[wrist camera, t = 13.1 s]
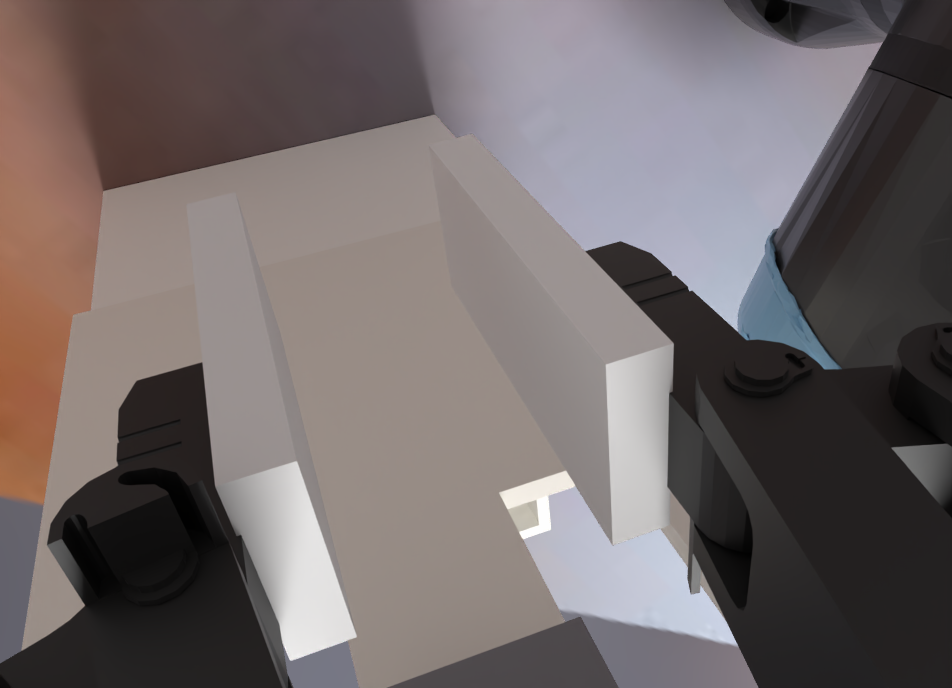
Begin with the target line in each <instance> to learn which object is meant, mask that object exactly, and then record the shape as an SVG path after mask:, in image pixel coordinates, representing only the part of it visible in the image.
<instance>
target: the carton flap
mask: <svg viewBox="0 0 952 688" xmlns="http://www.w3.org/2000/svg"><path fill="white" fill-rule="evenodd" d="M260 271H261V274H262V277H263V280H264V283H265V286H266V289H267V293H268V296H269V299H270V302H271V305H272V308H273V311H274V315H275V318H276V321H277V324H278V327H279V330H280V333H281V337H282V341H283V345H284V349H285V353H286V357H287V361H288V365H289V369H290V373H291V377H292V381H293V385H294V389H295V393H296V397H297V401H298V405H299V409H300V413H301V417H302V421H303V424H304V428H305V432H306V436H307V440H308V444H309V448H310V452H311V456H312V460H313V464H314V468H315V472H316V476H317V480H318V484H319V488H320V492H321V496H322V500H323V504H324V508H325V512H326V516H327V520H328V524H329V528H330V532H331V536H332V540H333V544H334V548H335V552H336V555H337V559H338V563H339V567H340V571H341V575H342V579H343V583H344V587H345V591H346V595H347V599H348V603H349V607H350V611H351V615H352V619H353V623H354V627H355V631H356V635H357V637H356V638H353V639H350V640H348V643H349V647H350V651H351V656H352V660H353V664H354V668H355V672H356V676H357V681H358V685H359V688H618V686H617V684H616V682H615V680H614V678H613V676H612V675H611V673H610V671H609V669H608V667H607V665H606V663H605V661H604V660H603V658H602V656H601V654H600V652H599V650H598V648H597V646H596V645H595V643H594V641H593V639H592V637H591V635H590V633H589V632H588V630H587V628H586V626H585V624H584V622H583V620H582V618H581V617H578V618H575V619H573V620H570V621H567V622H565V621H564V619H563V617H562V615H561V613H560V611H559V609H558V607H557V605H556V603H555V601H554V599H553V597H552V595H551V593H550V591H549V589H548V588H547V586H546V584H545V582H544V580H543V578H542V576H541V574H540V572H539V570H538V568H537V566H536V564H535V562H534V560H533V558H532V556H531V554H530V552H529V550H528V549H527V547H526V545H525V543H524V541H523V539H522V537H521V535H520V533H519V531H518V529H517V527H516V525H515V523H514V521H513V519H512V517H511V515H510V513H509V511H508V510H507V509H510V508H513V507H516V506H519V505H522V504H525V503H528V502H531V501H534V500H537V499H540V498H543V497H546V496H549V495H552V494H555V493H558V492H561V491H564V490H567V489H570V488H573V487H576V486H575V484H574V483H573V481H572V479H571V478H570V476H569V475H568V473H567V471H566V470H565V468H564V466H563V465H562V463H561V462H560V460H559V458H558V457H557V455H556V454H555V452H554V450H553V449H552V447H551V446H550V444H549V442H548V441H547V439H546V438H545V436H544V434H543V433H542V431H541V430H540V428H539V426H538V425H537V423H536V421H535V420H534V418H533V417H532V415H531V413H530V412H529V410H528V409H527V407H526V405H525V404H524V402H523V401H522V399H521V397H520V396H519V394H518V393H517V391H516V389H515V388H514V386H513V385H512V383H511V381H510V380H509V378H508V376H507V375H506V373H505V372H504V370H503V368H502V367H501V365H500V364H499V362H498V360H497V359H496V357H495V356H494V354H493V352H492V351H491V349H490V348H489V346H488V344H487V343H486V341H485V340H484V338H483V336H482V335H481V333H480V331H479V330H478V328H477V327H476V325H475V323H474V322H473V320H472V319H471V317H470V315H469V314H468V312H467V311H466V309H465V307H464V306H463V304H462V303H461V301H460V299H459V298H458V296H457V295H456V293H455V291H454V290H453V288H452V286H451V280H450V274H449V268H448V262H447V256H446V250H445V244H444V238H443V232H442V225H441V221H437V222H433V223H429V224H425V225H421V226H418V227H414V228H410V229H406V230H402V231H398V232H394V233H390V234H386V235H383V236H379V237H375V238H371V239H367V240H363V241H359V242H355V243H351V244H348V245H344V246H340V247H336V248H332V249H328V250H324V251H320V252H316V253H313V254H309V255H305V256H301V257H297V258H293V259H289V260H285V261H281V262H277V263H274V264H270V265H266V266H262V267H260ZM201 362H202V353H201V343H200V333H199V323H198V313H197V304H196V294H195V284H192V285H188V286H184V287H180V288H176V289H172V290H169V291H165V292H161V293H157V294H153V295H149V296H145V297H141V298H137V299H134V300H130V301H126V302H122V303H118V304H114V305H110V306H106V307H102V308H99V309H95V310H91V311H87V312H83V313H79V314H75V315H73V320H72V326H71V333H70V339H69V346H68V352H67V359H66V365H65V372H64V378H63V385H62V391H61V398H60V404H59V411H58V417H57V424H56V430H55V437H54V443H53V450H52V456H51V463H50V469H49V476H48V482H47V489H46V495H45V502H44V508H43V515H42V522H41V528H40V534H39V541H38V548H37V554H36V560H35V567H34V573H33V580H32V587H31V593H30V599H29V606H28V612H27V619H26V626H25V632H24V638H23V645H22V650H24V649H26V648H27V647H29V646H31V645H32V644H34V643H36V642H37V641H39V640H41V639H42V638H44V637H46V636H47V635H49V634H50V633H52V632H53V631H55V630H56V629H58V628H59V627H60V626H62V625H63V624H65V623H66V622H68V621H69V620H70V619H71V618H72V617H73V616H74V615H76V614H77V613H78V612H79V611H80V610H81V609H82V608H83V607H84V606H85V605H84V603H83V602H82V600H81V598H80V597H79V595H78V594H77V592H76V591H75V589H74V587H73V586H72V584H71V583H70V581H69V580H68V578H67V576H66V575H65V573H64V572H63V570H62V568H61V567H60V565H59V564H58V562H57V561H56V559H55V557H54V556H53V554H52V553H51V551H50V550H49V548H48V546H47V541H48V535H49V530H50V524H51V522H52V521H53V519H54V518H55V516H56V515H57V513H58V512H59V510H60V509H61V507H62V506H63V504H64V503H65V501H66V500H68V499H69V498H70V497H71V496H72V495H73V494H75V493H76V492H77V491H78V490H79V489H80V488H82V487H83V486H84V485H85V484H86V483H87V482H89V481H91V480H92V479H94V478H96V477H98V476H100V475H102V474H104V473H106V472H108V471H110V470H111V469H113V468H115V467H116V466H118V463H117V461H116V458H117V443H119V441H118V438H117V435H118V411H119V408H120V406H121V405H122V403H123V402H124V400H125V398H126V397H127V395H128V393H129V392H130V390H131V389H132V387H133V385H134V384H135V382H136V381H137V380H141V379H144V378H148V377H151V376H155V375H158V374H162V373H165V372H169V371H173V370H176V369H180V368H183V367H187V366H190V365H194V364H197V363H201ZM661 530H662V532H663V533H664V534H665V536H666V537H667V539H668V540H669V541H670V543H671V544H672V546H673V547H674V548H675V550H676V551H677V553H678V554H679V556H680V557H681V558H682V560H683V561H684V563H685V564H686V565H687V567H688V554H689V530H690V516H689V515H688V514H687V512H686V511H685V510H684V508H683V507H682V506H681V504H680V503H679V502H678V500H677V499H676V498H675V496H674V495H673V494H672V492H671V495H670V525H669V526H666V527H663V528H661ZM700 585H701V586H702V588H703V589H704V591H705V592H706V593H707V595H708V596H709V598H710V599H711V600H712V602H713V603H714V605H715V606H716V607H717V609H718V610H719V612H720V613H721V614H722V616H723V617H724V615H723V613H722V611H721V609H720V607H719V605H718V603H717V601H716V599H715V597H714V595H713V593H712V591H711V589H710V587H709V585H708V583H707V581H706V579H705V576H704V574H703V572H702V570H701V582H700ZM724 619H725V617H724Z"/></svg>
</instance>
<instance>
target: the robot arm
mask: <svg viewBox="0 0 952 688" xmlns="http://www.w3.org/2000/svg"><path fill="white" fill-rule="evenodd" d="M724 1H725V3H726V4H727V5H728V7H729V8H730V9H731V10H732V12H733V13H734V14H735V15H736V16H737V17H738V18H739V19H740V20H742V21H743V22H744V23H745V24H747V25H748V26H750V27H751V28H752V29H754V30H756V31H758V32H760V33H762V34H765V35H767V36H770V37H772V38H775V39H778V40H780V41H783V42H785V43H788V44H792V45H795V46H800V47H806V48H816V49H828V48H837V47H846V46H855V45H864V44H873V43H881V42H883V44H882V45H881V47H880V49H879V51H878V53H877V54H876V56H875V58H874V60H873V62H872V63H871V65H870V67H869V68H868V70H867V71H866V73H865V75H864V77H863V79H862V81H861V83H860V84H859V86H858V88H857V90H856V92H855V93H854V95H853V97H852V99H851V100H850V102H849V104H848V106H847V108H846V109H845V111H844V113H843V115H842V117H841V118H840V120H839V122H838V124H837V125H836V127H835V129H834V131H833V133H832V134H831V136H830V138H829V140H828V141H827V143H826V145H825V147H824V149H823V150H822V152H821V154H820V156H819V157H818V159H817V161H816V163H815V165H814V166H813V168H812V170H811V172H810V173H809V175H808V177H807V179H806V181H805V182H804V184H803V186H802V188H801V190H800V191H799V193H798V195H797V197H796V198H795V200H794V202H793V204H792V206H791V207H790V209H789V211H788V213H787V214H786V216H785V218H784V220H783V222H782V223H781V225H780V227H779V228H778V229H773V231H772V232H771V234H770V235H769V236H768V238H767V241H766V244H765V255H764V257H763V259H762V261H761V263H760V265H759V267H758V269H757V271H756V273H755V275H754V277H753V279H752V281H751V283H750V285H749V287H748V289H747V291H746V293H745V295H744V297H743V299H742V302H741V305H740V308H739V312H738V332H737V331H736V330H735V329H734V328H733V327H732V326H730V325H729V324H728V323H727V322H726V321H725V320H724V319H723V318H722V317H721V316H719V315H718V314H717V313H716V312H715V311H714V310H713V309H712V308H711V307H710V306H708V305H707V304H706V303H705V302H704V301H703V300H702V299H701V298H700V297H699V296H697V295H696V294H695V293H694V292H693V291H689V290H688V286H686V285H685V284H684V283H683V282H682V281H681V280H680V279H679V278H678V277H677V276H672V272H671V271H670V270H669V269H668V268H667V267H666V266H664V265H663V264H662V263H661V262H660V261H659V260H658V259H657V258H656V257H655V256H653V255H652V254H651V253H649V252H646V251H644V250H641V249H639V248H636V247H633V246H631V245H628V244H626V243H623V242H621V241H620V242H617V243H613V244H609V245H606V246H602V247H599V248H595V249H592V250H588V251H584V250H583V249H582V248H581V246H580V245H579V244H578V243H577V242H576V241H575V240H574V239H573V238H572V237H571V236H570V235H569V234H568V233H567V232H566V231H565V230H564V229H563V228H562V227H561V226H560V225H559V224H558V223H557V222H556V220H555V219H554V218H553V217H552V216H551V215H550V214H549V213H548V212H547V211H546V210H545V209H544V208H543V207H542V206H541V205H540V204H539V203H538V202H537V201H536V200H535V199H534V198H533V197H532V196H531V194H530V193H529V192H528V191H527V190H526V189H525V188H524V187H523V186H522V185H521V184H520V183H519V182H518V181H517V180H516V179H515V178H514V177H513V176H512V175H511V174H510V173H509V172H508V171H507V170H506V168H505V167H504V166H503V165H502V164H501V163H500V162H499V161H498V160H497V159H496V158H495V157H494V156H493V155H492V154H491V153H490V152H489V151H488V150H487V149H486V148H485V147H484V146H483V145H482V144H481V142H480V141H479V140H478V139H477V138H476V137H475V136H474V135H473V134H470V135H466V136H462V137H457V138H453V139H449V140H445V141H441V142H437V143H433V144H429V145H428V146H429V152H430V158H431V164H432V171H433V177H434V183H435V189H436V195H437V201H438V207H439V213H440V219H441V225H442V232H443V238H444V244H445V250H446V256H447V262H448V268H449V274H450V280H451V286H452V288H453V290H454V291H455V293H456V295H457V296H458V298H459V299H460V301H461V303H462V304H463V306H464V307H465V309H466V311H467V312H468V314H469V315H470V317H471V319H472V320H473V322H474V323H475V325H476V327H477V328H478V330H479V331H480V333H481V335H482V336H483V338H484V340H485V341H486V343H487V344H488V346H489V348H490V349H491V351H492V352H493V354H494V356H495V357H496V359H497V360H498V362H499V364H500V365H501V367H502V368H503V370H504V372H505V373H506V375H507V376H508V378H509V380H510V381H511V383H512V385H513V386H514V388H515V389H516V391H517V393H518V394H519V396H520V397H521V399H522V401H523V402H524V404H525V405H526V407H527V409H528V410H529V412H530V413H531V415H532V417H533V418H534V420H535V421H536V423H537V425H538V426H539V428H540V430H541V431H542V433H543V434H544V436H545V438H546V439H547V441H548V442H549V444H550V446H551V447H552V449H553V450H554V452H555V454H556V455H557V457H558V458H559V460H560V462H561V463H562V465H563V466H564V468H565V470H566V471H567V473H568V475H569V476H570V478H571V479H572V481H573V483H574V484H575V486H576V487H577V489H578V491H579V492H580V494H581V495H582V497H583V499H584V500H585V502H586V503H587V505H588V507H589V508H590V510H591V511H592V513H593V515H594V516H595V518H596V519H597V521H598V523H599V524H600V526H601V528H602V529H603V531H604V532H605V534H606V536H607V537H608V539H609V540H610V542H611V544H612V545H616V544H619V543H621V542H624V541H627V540H630V539H633V538H635V537H638V536H641V535H644V534H647V533H649V532H652V531H655V530H658V529H661V528H663V527H666V526H669V525H670V495H671V492H672V494H673V495H674V496H675V498H676V499H677V500H678V502H679V503H680V504H681V506H682V507H683V508H684V510H685V511H686V512H687V514H688V515H689V516H690V530H689V554H688V583H689V588H690V592H691V594H695V593H700V582H701V570H702V572H703V574H704V576H705V579H706V581H707V583H708V585H709V587H710V589H711V591H712V593H713V595H714V597H715V599H716V601H717V603H718V605H719V607H720V609H721V611H722V613H723V615H724V617H725V620H726V622H727V624H728V626H729V628H730V630H731V632H732V634H733V636H734V638H735V640H736V642H737V644H738V646H739V648H740V650H741V652H742V654H743V656H744V658H745V661H746V662H747V665H748V667H749V668H750V671H751V673H752V675H753V677H754V679H755V681H756V683H757V685H758V687H759V688H952V0H724ZM186 206H187V215H188V225H189V235H190V245H191V255H192V264H193V274H194V284H195V294H196V304H197V313H198V323H199V333H200V343H201V353H202V362H201V363H197V364H194V365H190V366H187V367H183V368H180V369H176V370H173V371H169V372H165V373H162V374H158V375H155V376H151V377H148V378H144V379H141V380H137V381H136V382H135V384H134V385H133V387H132V389H131V390H130V392H129V393H128V395H127V397H126V398H125V400H124V402H123V403H122V405H121V406H120V408H119V411H118V435H117V438H118V441H119V443H117V458H116V461H117V463H118V466H116V467H115V468H113V469H111V470H110V471H108V472H106V473H104V474H102V475H100V476H98V477H96V478H94V479H92V480H91V481H89V482H87V483H86V484H85V485H84V486H83V487H82V488H80V489H79V490H78V491H77V492H76V493H75V494H73V495H72V496H71V497H70V498H69V499H68V500H66V501H65V503H64V504H63V506H62V507H61V509H60V510H59V512H58V513H57V515H56V516H55V518H54V519H53V521H52V522H51V524H50V530H49V535H48V541H47V546H48V548H49V550H50V551H51V553H52V554H53V556H54V557H55V559H56V561H57V562H58V564H59V565H60V567H61V568H62V570H63V572H64V573H65V575H66V576H67V578H68V580H69V581H70V583H71V584H72V586H73V587H74V589H75V591H76V592H77V594H78V595H79V597H80V598H81V600H82V602H83V603H84V605H85V606H84V607H83V608H82V609H81V610H80V611H79V612H78V613H77V614H76V615H74V616H73V617H72V618H71V619H70V620H69V621H68V622H66V623H65V624H63V625H62V626H60V627H59V628H58V629H56V630H55V631H53V632H52V633H50V634H49V635H47V636H46V637H44V638H42V639H41V640H39V641H37V642H36V643H34V644H32V645H31V646H29V647H27V648H26V649H24V650H22V651H21V652H19V653H17V654H16V655H14V656H12V657H10V658H9V659H7V660H6V661H4V662H2V663H0V688H293V686H292V683H291V681H290V679H289V676H288V674H287V669H286V662H285V656H284V650H283V645H284V647H285V650H286V652H287V654H288V657H289V659H290V661H291V660H295V659H297V658H300V657H303V656H306V655H308V654H311V653H314V652H317V651H320V650H322V649H325V648H328V647H331V646H334V645H336V644H339V643H342V642H345V641H348V640H350V639H353V638H356V637H357V635H356V631H355V627H354V623H353V619H352V615H351V611H350V607H349V603H348V599H347V595H346V591H345V587H344V583H343V579H342V575H341V571H340V567H339V563H338V559H337V555H336V552H335V548H334V544H333V540H332V536H331V532H330V528H329V524H328V520H327V516H326V512H325V508H324V504H323V500H322V496H321V492H320V488H319V484H318V480H317V476H316V472H315V468H314V464H313V460H312V456H311V452H310V448H309V444H308V440H307V436H306V432H305V428H304V424H303V421H302V417H301V413H300V409H299V405H298V401H297V397H296V393H295V389H294V385H293V381H292V377H291V373H290V369H289V365H288V361H287V357H286V353H285V349H284V345H283V341H282V337H281V333H280V330H279V327H278V324H277V321H276V318H275V315H274V311H273V308H272V305H271V302H270V299H269V296H268V293H267V289H266V286H265V283H264V280H263V277H262V274H261V271H260V267H259V264H258V261H257V258H256V255H255V252H254V249H253V245H252V242H251V239H250V236H249V233H248V230H247V227H246V223H245V220H244V217H243V214H242V211H241V208H240V205H239V201H238V198H237V195H236V192H233V193H229V194H225V195H221V196H217V197H213V198H209V199H205V200H201V201H197V202H193V203H189V204H186ZM282 643H283V644H282Z"/></svg>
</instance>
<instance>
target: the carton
mask: <svg viewBox="0 0 952 688" xmlns="http://www.w3.org/2000/svg"><path fill="white" fill-rule="evenodd" d="M453 138H456V137H455V136H454V135H453V134H452V133H451V132H450V130H449V129H448V128H447V127H446V126H445V125H444V124H443V123H442V122H441V120H440V119H439V118H438V117H437V116H436V115H431V116H427V117H422V118H418V119H414V120H409V121H405V122H401V123H396V124H392V125H388V126H383V127H379V128H375V129H370V130H366V131H362V132H357V133H353V134H349V135H344V136H340V137H336V138H331V139H327V140H323V141H318V142H314V143H310V144H305V145H301V146H297V147H292V148H288V149H284V150H279V151H275V152H271V153H266V154H262V155H258V156H253V157H249V158H245V159H240V160H236V161H232V162H227V163H223V164H219V165H214V166H210V167H206V168H201V169H197V170H193V171H188V172H184V173H180V174H175V175H171V176H167V177H162V178H158V179H154V180H149V181H145V182H141V183H136V184H132V185H128V186H123V187H119V188H114V189H110V190H106V191H103V199H102V209H101V219H100V228H99V238H98V248H97V257H96V267H95V277H94V286H93V296H92V305H91V310H95V309H99V308H102V307H106V306H110V305H114V304H118V303H122V302H126V301H130V300H134V299H137V298H141V297H145V296H149V295H153V294H157V293H161V292H165V291H169V290H172V289H176V288H180V287H184V286H188V285H192V284H194V274H193V264H192V255H191V245H190V235H189V225H188V215H187V206H186V204H189V203H193V202H197V201H201V200H205V199H209V198H213V197H217V196H221V195H225V194H229V193H233V192H236V195H237V198H238V201H239V205H240V208H241V211H242V214H243V217H244V220H245V223H246V227H247V230H248V233H249V236H250V239H251V242H252V245H253V249H254V252H255V255H256V258H257V261H258V264H259V267H262V266H266V265H270V264H274V263H277V262H281V261H285V260H289V259H293V258H297V257H301V256H305V255H309V254H313V253H316V252H320V251H324V250H328V249H332V248H336V247H340V246H344V245H348V244H351V243H355V242H359V241H363V240H367V239H371V238H375V237H379V236H383V235H386V234H390V233H394V232H398V231H402V230H406V229H410V228H414V227H418V226H421V225H425V224H429V223H433V222H437V221H441V219H440V213H439V207H438V201H437V195H436V189H435V183H434V177H433V171H432V164H431V158H430V152H429V146H428V145H429V144H433V143H437V142H441V141H445V140H449V139H453ZM507 510H508V511H509V513H510V515H511V517H512V519H513V521H514V523H515V525H516V527H517V529H518V531H519V533H520V535H521V537H522V539H525V538H528V537H531V536H533V535H536V534H539V533H542V532H545V531H548V530H551V524H550V513H549V502H548V496H546V497H543V498H540V499H537V500H534V501H531V502H528V503H525V504H522V505H519V506H516V507H513V508H510V509H507Z"/></svg>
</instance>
